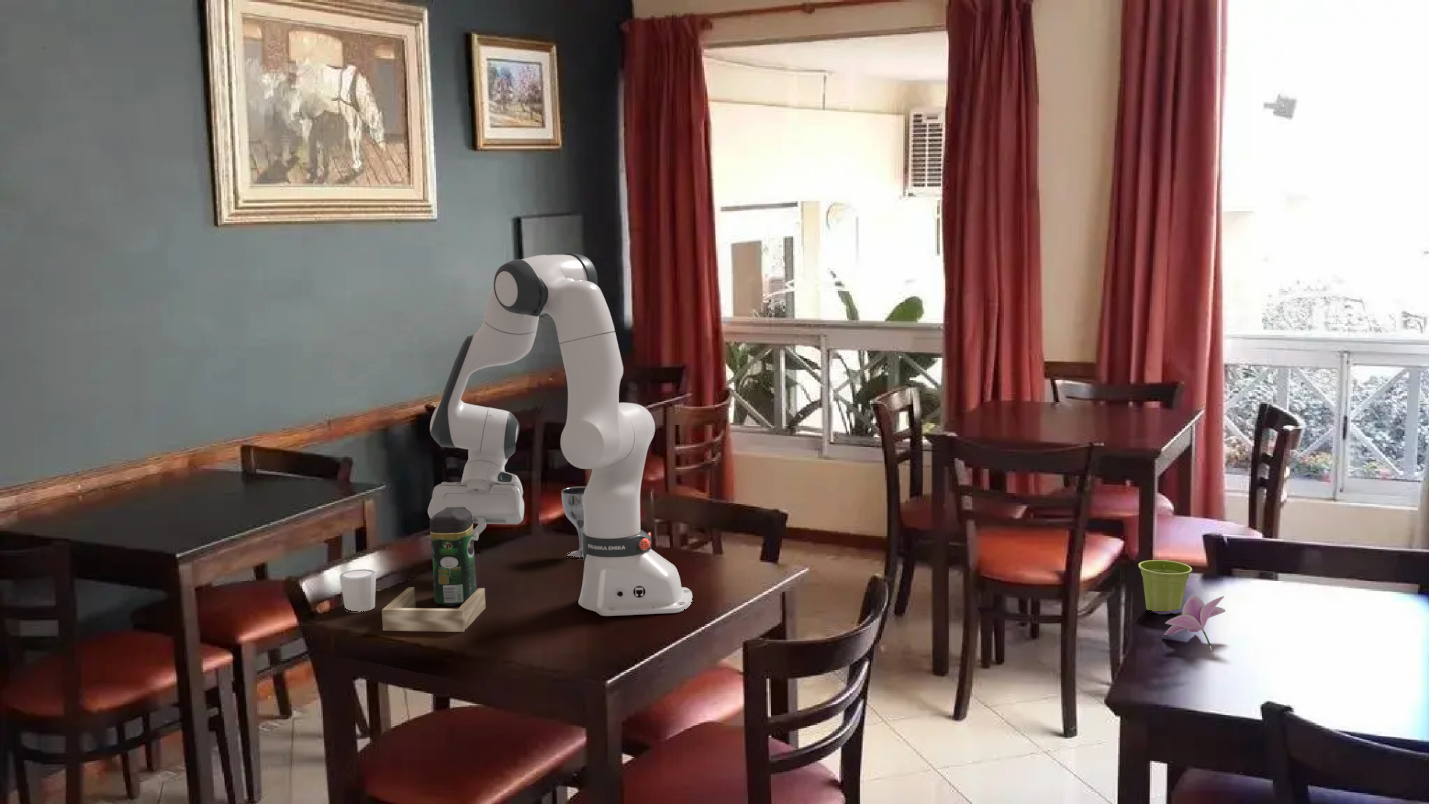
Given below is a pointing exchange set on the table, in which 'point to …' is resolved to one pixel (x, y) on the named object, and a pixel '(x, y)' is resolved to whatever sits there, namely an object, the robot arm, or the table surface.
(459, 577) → the coffee jar
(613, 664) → the table surface
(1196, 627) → the lily
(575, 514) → the wine glass
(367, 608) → the white cup
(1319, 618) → the table surface
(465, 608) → the bay
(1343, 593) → the table surface
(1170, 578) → the plant pot
